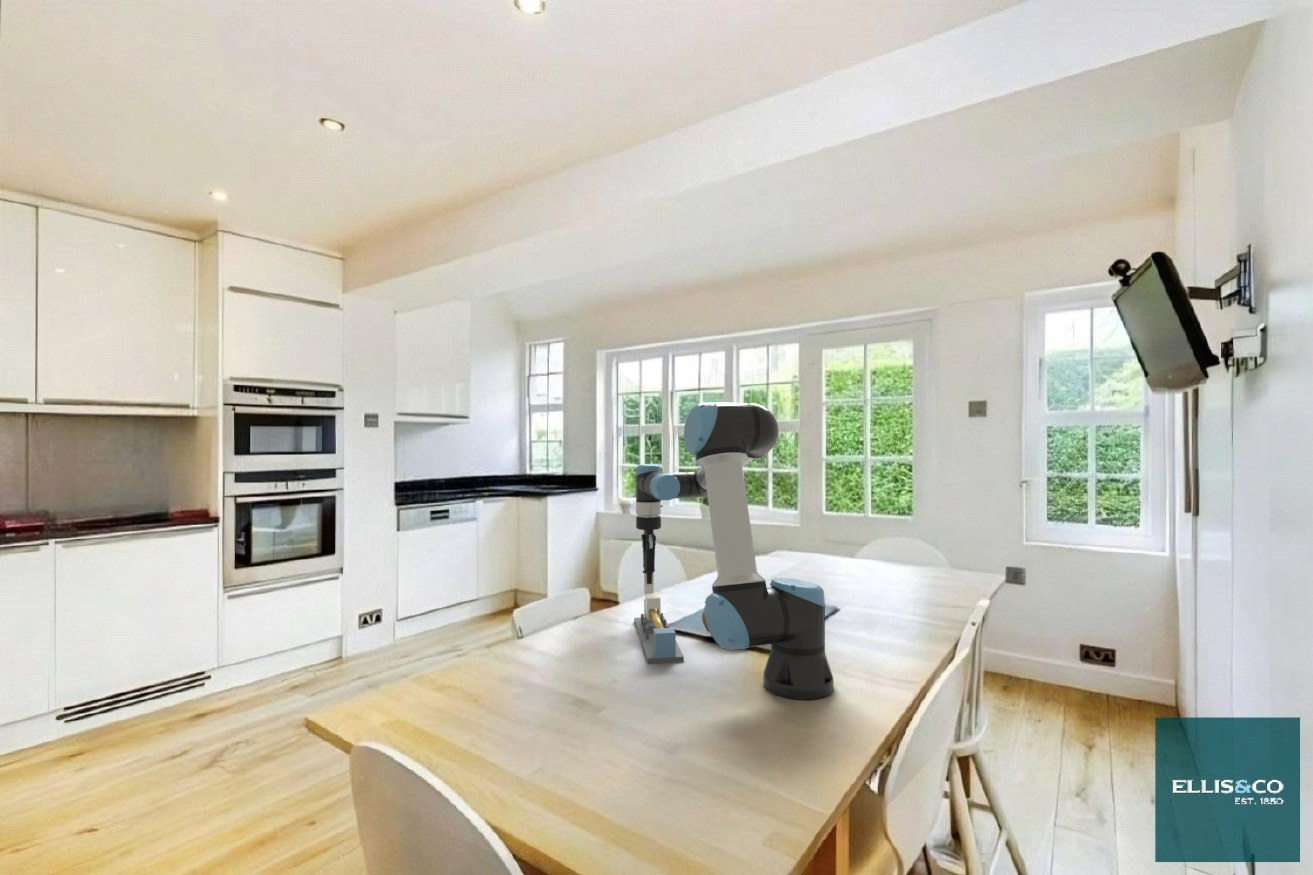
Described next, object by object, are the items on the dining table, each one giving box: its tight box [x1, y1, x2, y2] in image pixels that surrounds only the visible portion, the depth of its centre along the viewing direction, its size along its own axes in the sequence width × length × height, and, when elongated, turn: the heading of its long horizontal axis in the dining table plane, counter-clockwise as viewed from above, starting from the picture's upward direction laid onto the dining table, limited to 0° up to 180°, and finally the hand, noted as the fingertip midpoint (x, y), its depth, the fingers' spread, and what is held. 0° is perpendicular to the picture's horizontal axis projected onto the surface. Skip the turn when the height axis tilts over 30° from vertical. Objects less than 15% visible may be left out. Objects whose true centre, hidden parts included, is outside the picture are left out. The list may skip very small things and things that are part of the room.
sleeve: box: [644, 593, 662, 621], centre depth 172 cm, size 5×4×6 cm
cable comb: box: [633, 598, 685, 664], centre depth 164 cm, size 34×9×7 cm, turn 8°
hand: (648, 593), depth 181 cm, fingers closed
